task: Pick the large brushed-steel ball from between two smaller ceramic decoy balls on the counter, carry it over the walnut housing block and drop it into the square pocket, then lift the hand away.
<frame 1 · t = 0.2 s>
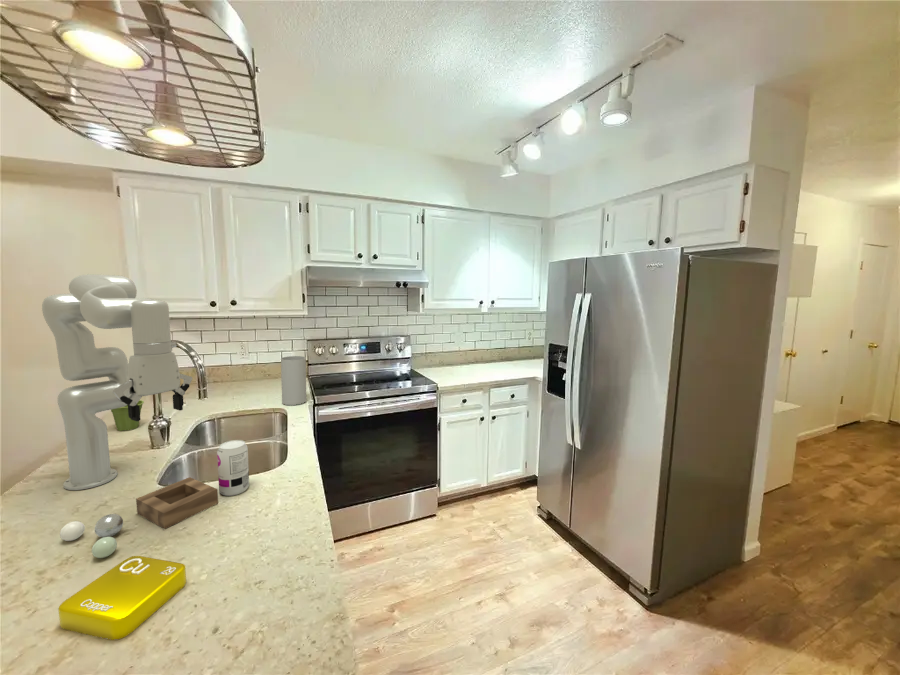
hand: (157, 414, 98), 30 cm above the table, fingers open, 9 cm apart
housing: (178, 508, 109), on the table
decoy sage: (104, 547, 89), point 2 cm above the table
supplement can: (234, 490, 119), on the table
cylinder vase: (294, 402, 210), on the table
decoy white: (72, 530, 94), point 2 cm above the table
element tile: (128, 604, 77), on the table
plant pot: (128, 428, 166), on the table
steel ball: (109, 525, 96), point 3 cm above the table
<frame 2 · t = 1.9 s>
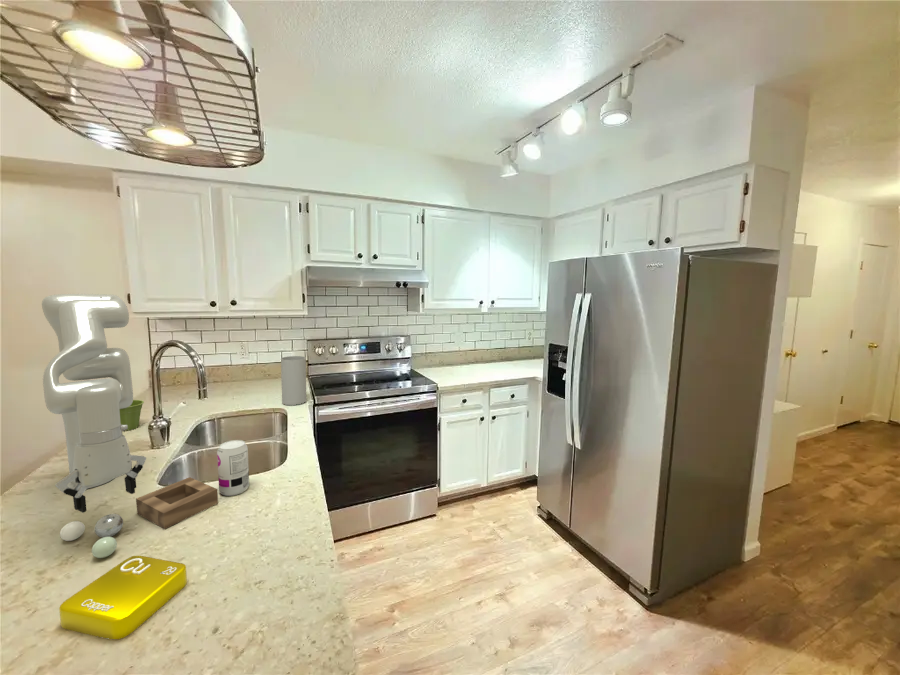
hand: (107, 501, 95), 10 cm above the table, fingers open, 9 cm apart
nothing on the table moved.
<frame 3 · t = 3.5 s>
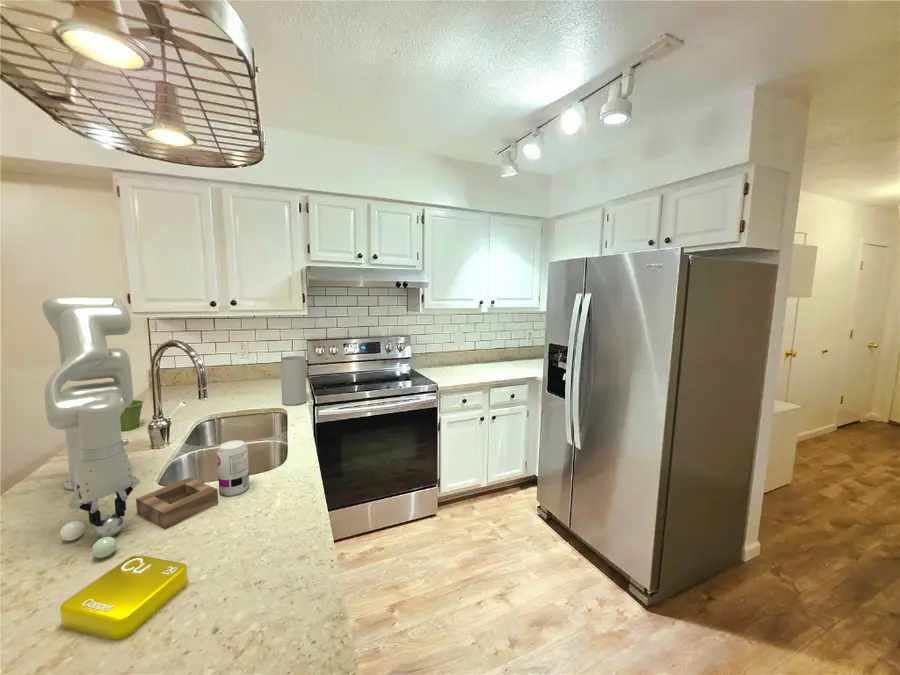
hand: (108, 518, 96), 4 cm above the table, fingers closed on steel ball, 4 cm apart
steel ball: (109, 525, 96), point 3 cm above the table, touching gripper
everything else where it was.
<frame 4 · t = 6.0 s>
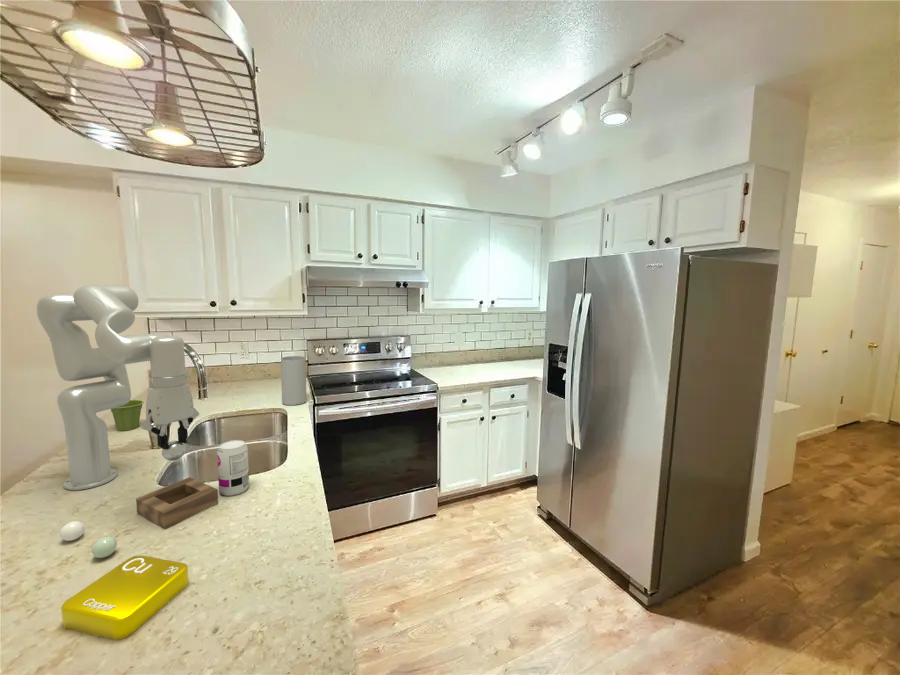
hand: (173, 444, 106), 19 cm above the table, fingers closed on steel ball, 4 cm apart
steel ball: (173, 450, 106), point 17 cm above the table, touching gripper
everything else where it was.
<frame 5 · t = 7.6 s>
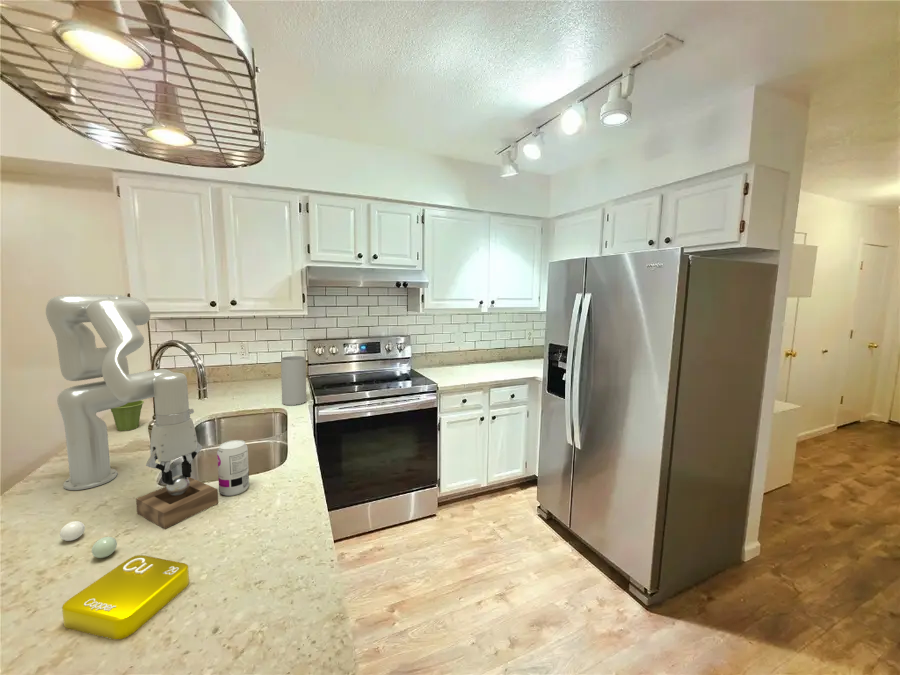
hand: (177, 479, 108), 9 cm above the table, fingers closed on steel ball, 4 cm apart
steel ball: (178, 485, 108), point 7 cm above the table, touching gripper
everything else where it was.
when the fingers open (5 cm above the table, at t = 8.9 s): steel ball stays where it is, point 3 cm above the table.
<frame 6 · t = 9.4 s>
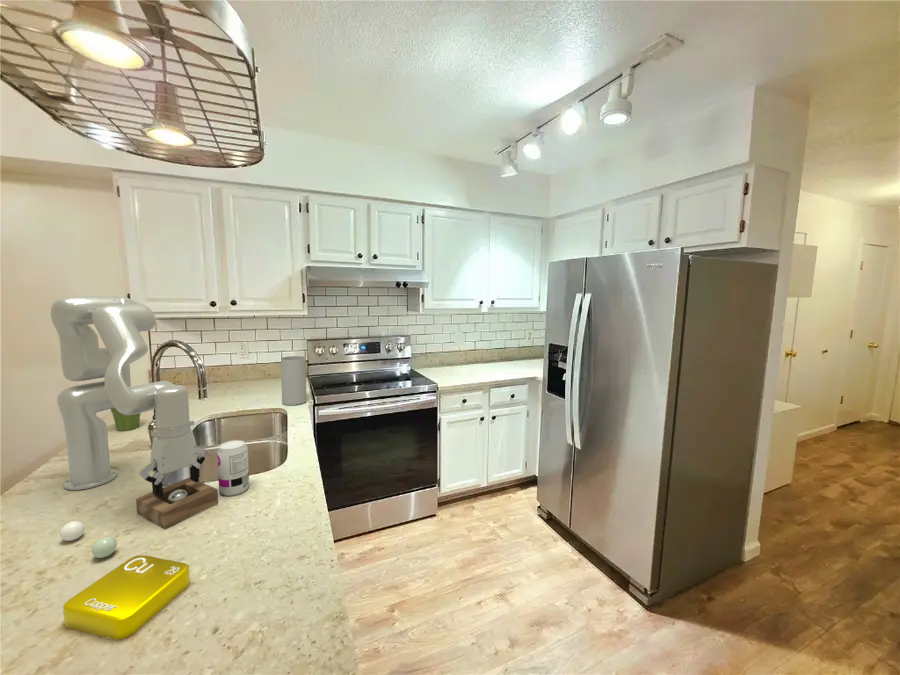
hand: (177, 488, 108), 6 cm above the table, fingers open, 9 cm apart
steel ball: (178, 499, 108), point 3 cm above the table
everything else where it was.
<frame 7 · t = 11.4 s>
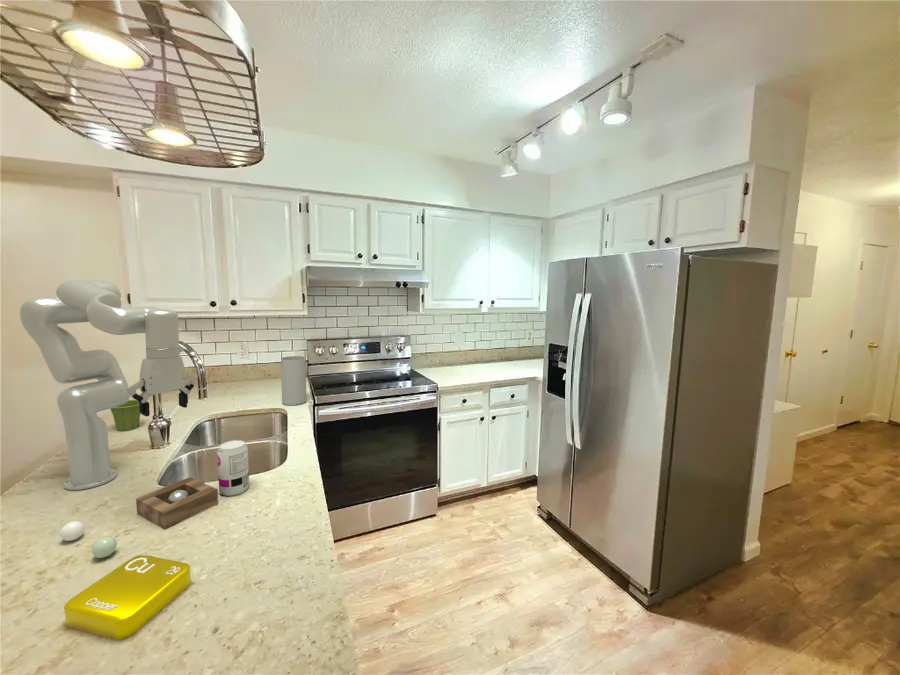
hand: (164, 410, 110), 27 cm above the table, fingers open, 9 cm apart
steel ball: (178, 500, 108), point 3 cm above the table, tilted 7°
everything else where it was.
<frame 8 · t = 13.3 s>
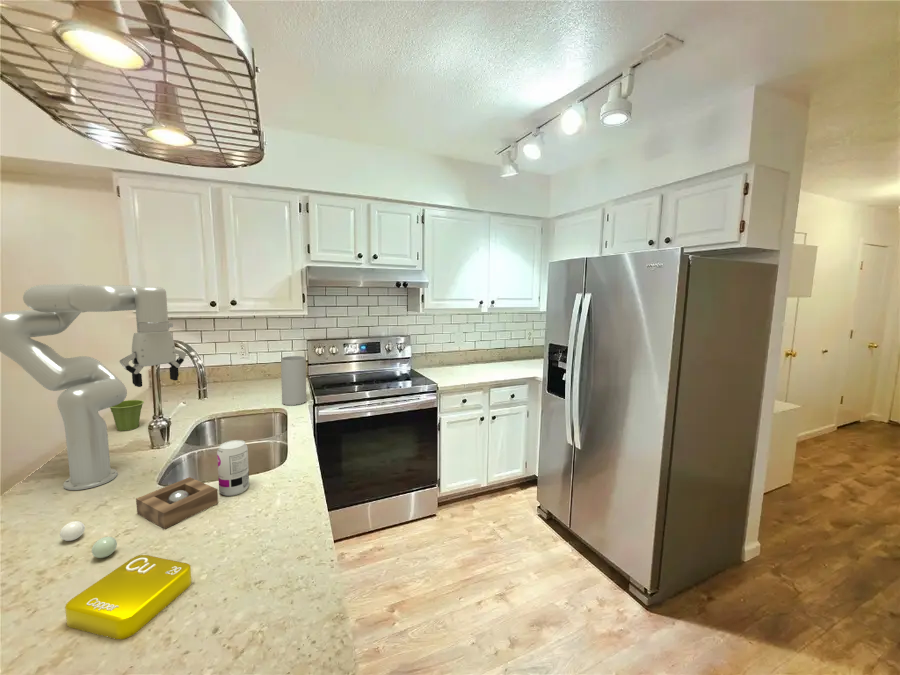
hand: (156, 382, 117), 33 cm above the table, fingers open, 9 cm apart
steel ball: (178, 500, 108), point 3 cm above the table, tilted 13°
at the end: steel ball 0.6 cm off-centre on the housing, point 2.7 cm above the housing's base; the gripper is holding nothing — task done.
